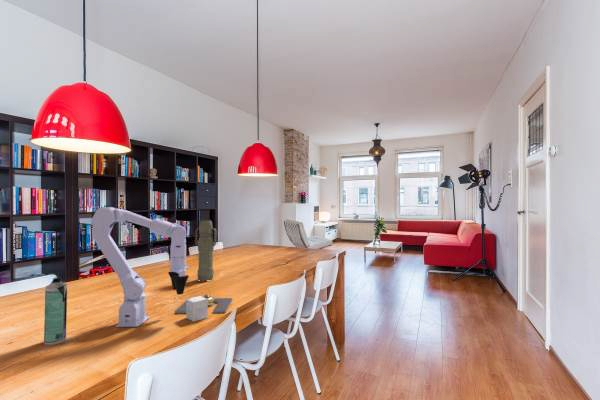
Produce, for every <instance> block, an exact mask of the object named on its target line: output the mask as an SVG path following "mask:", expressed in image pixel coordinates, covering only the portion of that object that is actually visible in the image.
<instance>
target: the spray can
mask: <svg viewBox="0 0 600 400" xmlns="http://www.w3.org/2000/svg"><path fill="white" fill-rule="evenodd" d="M67 308H68V284H67V283H65V282H63V281H62V280H61V277H60V276H59V277H54V278H52V281H51V282H50V284H48V285H46V286H45V290H44V325H43V326H44V329H43V331H44V332H43V342H44V343H43V344H44V345H45V346H53V345H57V344H61V343H63V342H65V341H66V340H67V315H68V314H67V313H68V312H67Z"/></svg>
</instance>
